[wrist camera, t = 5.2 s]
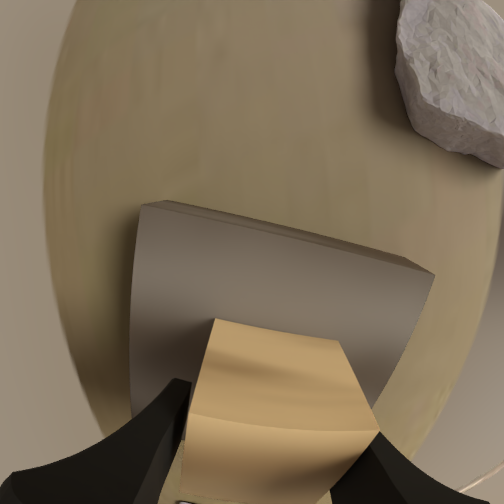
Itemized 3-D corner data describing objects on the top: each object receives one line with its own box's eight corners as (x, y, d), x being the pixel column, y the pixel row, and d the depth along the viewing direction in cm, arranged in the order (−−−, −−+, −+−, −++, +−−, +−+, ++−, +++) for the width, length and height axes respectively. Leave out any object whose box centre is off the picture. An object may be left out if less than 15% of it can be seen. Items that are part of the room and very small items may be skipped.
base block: (328, 426, 16) (335, 458, 13) (148, 393, 15) (132, 424, 12) (404, 257, 13) (435, 274, 10) (167, 199, 12) (141, 204, 10)
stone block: (382, 141, 13) (512, 180, 11) (408, 117, 9) (557, 177, 7) (374, -6, 11) (491, 36, 9) (382, -49, 6) (518, 10, 4)
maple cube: (300, 421, 12) (314, 504, 7) (198, 406, 12) (179, 492, 7) (338, 340, 11) (380, 430, 6) (215, 318, 10) (189, 412, 6)
